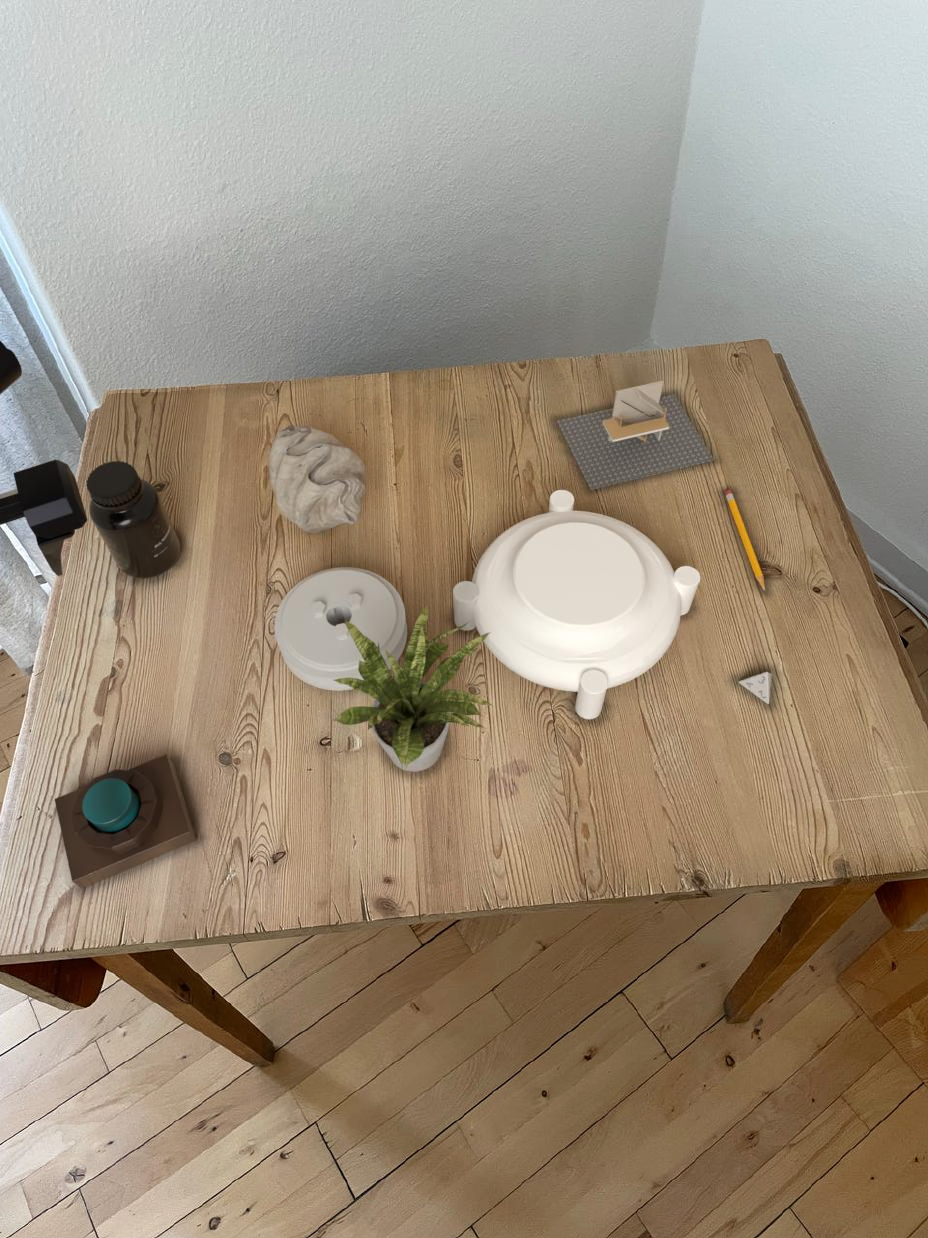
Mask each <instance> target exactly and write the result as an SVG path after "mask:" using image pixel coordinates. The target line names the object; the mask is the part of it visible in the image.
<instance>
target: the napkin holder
mask: <svg viewBox="0 0 928 1238" xmlns="http://www.w3.org/2000/svg"><path fill="white" fill-rule="evenodd" d="M663 386H664V380H660V381H659V380H658V381H655V382H650V383H645V384H641V385H636V386H633V387H627V388H624V389H619V390H615V397H614V401H613V406H612V408H611V409H612V413H611V418H607V419H603V420H602V422H601V423H602V425H603V427H604V429H605V431H606V433H607V434H608V437H607V440H608V441H611V442H612V443H615V442H619V441H624V440H628V439H632V438H637V439H639V440H641V441H643V442H644V443H646V442H647V439H648V435H649V434H654V435H655V437H656V439H657V440H658V441H660V440H661V438H662V433H663V431H667V430H669V429H670V425H669V424H668V422H667V420H666V417H667V410H668V407H667V406H665V407H664V408H663V407H662V405H661V404H660V400H661V397H662V396H661V394H662V392H663V391H662V390H663Z"/></svg>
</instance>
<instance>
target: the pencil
mask: <svg viewBox="0 0 928 1238" xmlns="http://www.w3.org/2000/svg"><path fill="white" fill-rule="evenodd" d="M724 495H725V497H726V498H725V499H726V500H727V503H728V506H729V508H730V512H731V514H732V517H733V519H734V523H735V525H736V528H737V530H738V534H739V536H740V539H741V542H742V544H743V546H744V549H745V552H746V556H747V558H748V560H749V563H750V566H751V568H752V572H753V573H754V576H755V580H756V581H757V582H758V583H759V586H760V587H761V589H762V590H763V591H764V592H766V587H765V579H764V578H765V577H764V574H763V572H762V569H761V566H760V564H759V560H758V559H757V556H756V553H755V550H754V547H753V545H752V543H751V540H750V537H749V534H748V531H747V529H746V526H745V523H744V521H743V518H742V515H741V513H740V510H739V508H738V505H737V502H736V500H735V497H734V494H733V491H732V490H731V489H727V490H726V491H725V492H724Z"/></svg>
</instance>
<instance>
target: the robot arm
mask: <svg viewBox="0 0 928 1238" xmlns="http://www.w3.org/2000/svg"><path fill="white" fill-rule="evenodd" d="M22 374H23V370H22V366H21V363H20V361H19V358H18V357H17V355H16V354H15V352H14V351H13V350H11V349H10V348H7V346H6V345H5V344H4V343H3V342H2V341H1V340H0V395H2V394H3V393H4V392H6V390H7V389H8V388H10V386H12V385H13V384H14V383H16V381H17V380H18V379H20V378H21V377H22ZM12 475H13V478H14V482H15V486H16V489H12V490H9V491H5V492H3V493H0V526H1V525H5V524H8V523H10V522H15V521H17V520H20V519H23V518H24V519H25V520H26V522H27V525H28V527H29V529H30V530H31V531H32V533H33V534H34V536H35V540H36V545H37V546H38V548H39V550H40V552H41V553H42V555H43V557H44V559H45V561H46V562H47V564H48V566H49V568H50V570H51V571H52V572H53V573H54V574H55V576H56V577H60V576H63V564H62V552H63V547H64V543H65V541H66V540H68V539H70V538H72V537H74V535H75V533H76V530H79V529H81V528H83V527H84V526H85V524H86V523H87V522H88V517H87V512H86V510H85V507H84V504H83V500H82V496H81V493H80V489H79V485H78V483H77V478H76V476H75V475H74V473H73V471H72V469H71V468H70V466H69V464H68V463H66V462H64V461H62V460H59V459H52V460H50V461H47V462H43V463H40V464H37V465H34V466H31V467H28V468H24V469H22V470H19V471H15V472H13V474H12Z"/></svg>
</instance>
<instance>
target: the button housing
mask: <svg viewBox="0 0 928 1238" xmlns="http://www.w3.org/2000/svg"><path fill="white" fill-rule="evenodd" d="M109 778H115V779H120V780H122V781H124V782H125V783H126V784H127V785H128V786H129V787H130V788H131V789H132V790H133V791H134V793H135V794H136V795H137V797H138V801H139V808H138V812H137V814H136V816H135V818H134V819H133V821H132V822H131V823H130V824H129V825H127V826H126V827H124V828H123V829H121V830H118V831H113V832H106V831H102V830H100V829H98V828H97V827H96V826H95V825H94V824H93V823H91V822H90V821H89V820H88V819H87V818H86V816H85V815H84V812H83V800H84V797H85V795H86V793H87V792H88V790H89V789H90V788H91V787H92V786H93V785H95V784H96V783H98V782H99V781H102V780H104V779H109ZM54 803H55V808H56V812H57V817H58V822H59V826H60V831H61V837H62V840H63V845H64V850H65V855H66V859H67V864H68V868H69V872H70V873H69V874H70V877H71V882H72V883H73V884H75V885H76V886H77V887H79V888H80V889H82V890H83V889H86V888H88V887H91V886H92V885H95V884H98V883H100V882H103V881H105V880H107V879H109V878H111V877H114V876H117V875H119V874H121V873H123V872H125V871H128V870H130V869H132V868H135V867H137V866H140V865H142V864H144V863H147V862H149V861H151V860H154V859H156V858H158V857H161V856H163V855H166V854H168V853H170V852H172V851H175V850H177V849H179V848H181V847H184V846H187V845H189V844H191V843H193V842H196V841H197V837H196V834H195V831H194V827H193V824H192V820H191V817H190V813H189V810H188V808H187V807H188V806H187V803H186V801H185V797H184V793H183V790H182V787H181V784H180V781H179V777H178V774H177V771H176V768H175V764H174V762H173V761H172V760H171V758H170V757H169V756H168V754H166V753H165V754H163V755H160V756H158V757H156V758H153V759H150V760H148V761H146V762H143V763H140V764H138V765H135V766H133V767H130V768H128V769H118V768H116V769H113V770H110V771H108V772H105V773H103V774H100V775H97V776H96V777H93V779H91V780H90V781H89V782H88V784H86V786H83V787H81V788H78V789H76V790H73V791H71V792H68V793H65V794H64V795H61V796H59V797H55V798H54Z"/></svg>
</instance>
